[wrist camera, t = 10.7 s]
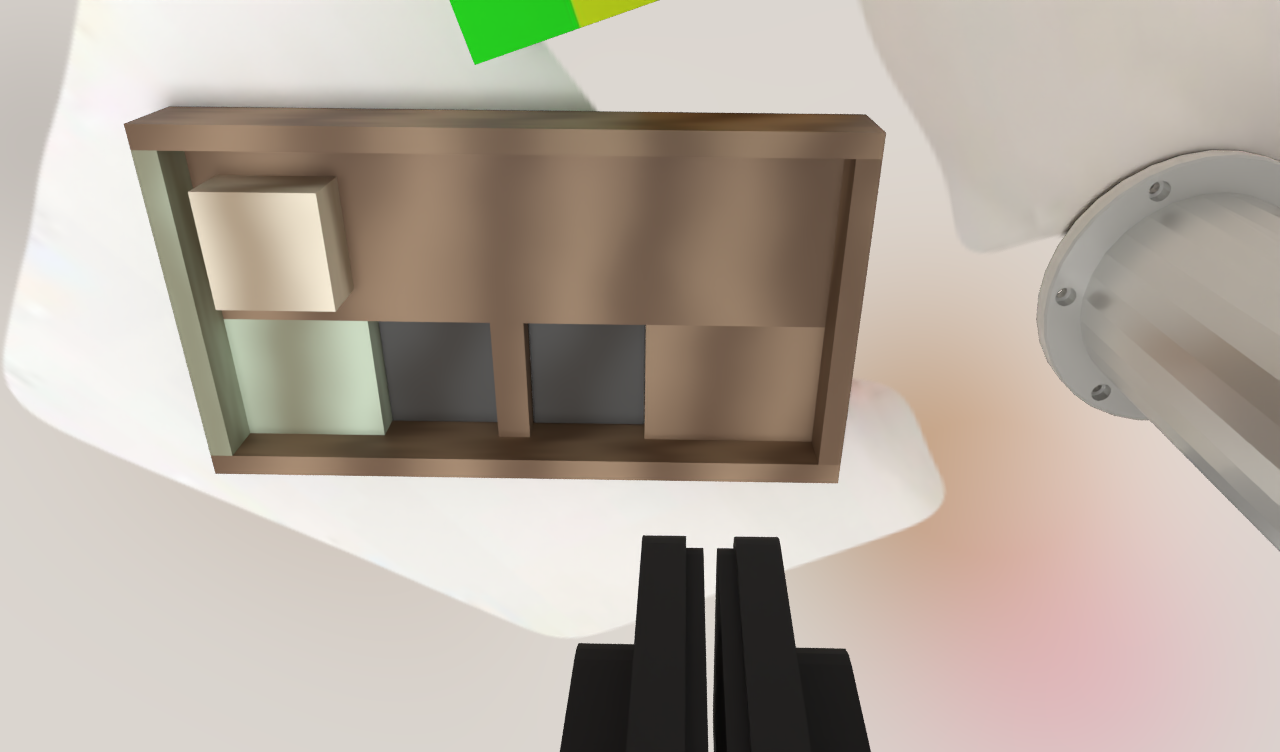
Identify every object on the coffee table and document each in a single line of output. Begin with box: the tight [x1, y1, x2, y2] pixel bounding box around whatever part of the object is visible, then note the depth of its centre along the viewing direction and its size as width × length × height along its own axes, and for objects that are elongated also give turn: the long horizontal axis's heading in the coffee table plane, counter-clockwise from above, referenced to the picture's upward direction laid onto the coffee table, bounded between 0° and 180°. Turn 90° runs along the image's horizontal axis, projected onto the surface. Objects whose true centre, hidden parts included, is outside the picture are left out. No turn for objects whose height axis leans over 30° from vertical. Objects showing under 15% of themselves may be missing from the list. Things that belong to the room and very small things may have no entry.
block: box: [188, 175, 354, 312], centre depth 36 cm, size 5×5×2 cm
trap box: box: [124, 107, 886, 483], centre depth 38 cm, size 29×16×4 cm, turn 90°
